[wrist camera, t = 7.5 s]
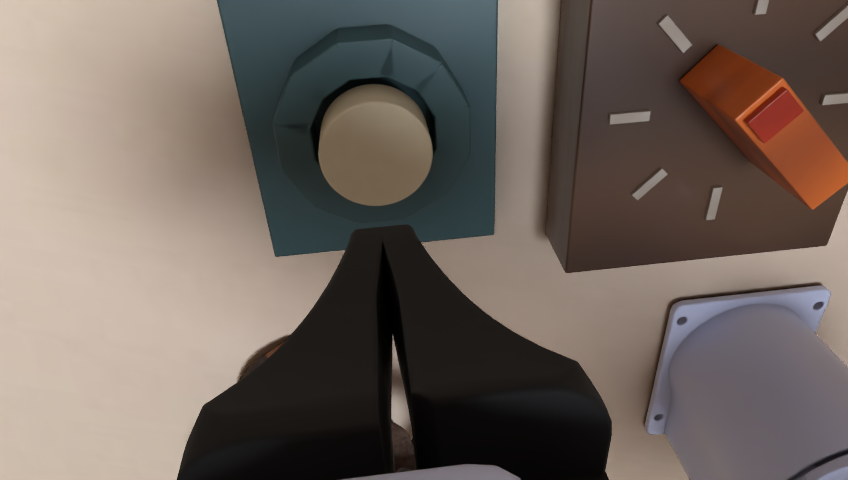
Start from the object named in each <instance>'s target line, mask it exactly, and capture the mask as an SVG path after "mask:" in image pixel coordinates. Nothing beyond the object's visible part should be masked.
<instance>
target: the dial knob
mask: <svg viewBox="0 0 848 480" xmlns="http://www.w3.org/2000/svg"><path fill="white" fill-rule="evenodd" d="M680 83H681V84H682V85H683V86H684V87H685V88H686V90H687V91H688V92H689V93H690V94H691V95H692V96H693V97H694V99H695V100H696V101H697V102H698V103H699V104H700V105H701V107H702V108H703V109H704V110H705V111H706V112H707V113H708V114H709V116H710V117H711V118H712V119H713V120H714V121H715V122H716V124H717V125H718V126H719V127H720V128H721V129H722V130H723V131H724V133H725V134H726V135H727V136H728V137H729V138H730V139H731V141H732V142H733V143H734V144H735V145H736V146H737V147H738V148H739V150H740V151H741V152H742V153H743V154H744V155H745V156H746V158H747V159H748V160H749V161H750V162H751V163H752V164H753V165H754V166H756V167H757V168H758V169H760V170H761V171H762V172H763V173H765V174H766V175H767V176H769V177H770V178H771V179H773V180H774V181H775V182H776V183H778V184H779V185H780V186H782V187H783V188H784V189H785V190H787V191H788V192H789V193H791V194H792V195H793V196H794V197H796V198H797V199H798V200H800V201H801V202H802V203H803V204H805V205H806V206H807V207H809V208H810V209H812V210H813V209H815V208H816V207H817V206H819V205H820V204H821V203H823V202H824V201H825V200H826V199H828V198H829V197H830V196H832V195H833V194H834V193H836V192H837V191H838V190H840V189H841V188H842V187H843V186H845V185H846V184H847V183H848V162H847V161H846V160H845V158H844V157H843V156H842V154H841V153H840V152H839V150H838V149H837V148H836V146H835V145H834V144H833V143H832V141H831V140H830V139H829V137H828V136H827V135H826V133H825V132H824V131H823V129H822V128H821V127H820V125H819V124H818V123H817V122H816V120H815V119H814V118H813V116H812V115H811V114H810V112H809V111H808V110H807V108H806V107H805V106H804V104H803V103H802V102H801V101H800V99H799V98H798V97H797V95H796V94H795V93H794V91H793V90H792V89H791V87H790V86H789V85H788V83H787V82H786V81H785V80H784V78H782V77H780V76H779V75H777V74H775V73H773V72H771V71H769V70H767V69H765V68H763V67H761V66H759V65H757V64H756V63H754V62H752V61H750V60H748V59H746V58H744V57H742V56H740V55H738V54H736V53H735V52H733V51H731V50H729V49H727V48H725V47H723V46H721V45H717V46H716V47H715V48H714V49H713V50H712V51H711V52H710V53H709V54H707V55H706V56H705V57H704V58H703V59H702V60H701V61H700V62H699V63H698V64H697V65H696V66H695V67H693V68H692V69H691V70H690V71H689V72H688V73H687V74H686V75H685V76H684V77H683V78H682V79H681V80H680Z"/></svg>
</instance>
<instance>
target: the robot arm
mask: <svg viewBox="0 0 848 480" xmlns="http://www.w3.org/2000/svg"><path fill="white" fill-rule="evenodd" d="M830 295H831V292H830V291H829V290H828V289H827V288H826V287H825V286H810V287H801V288H792V289H783V290H774V291H765V292H756V293H747V294H738V295H729V296H719V297H710V298H701V299H692V300H683V301H679V302H677V303H675V304H674V305H673V306H672V308H671V310H670V314H669V319H668V323H667V328H666V332H665V337H664V341H663V346H662V350H661V355H660V359H659V364H658V368H657V373H656V377H655V382H654V386H653V391H652V395H651V400H650V404H649V409H648V413H647V418H646V422H645V429H646V431H647V432H648V434H651V435H656V434H665V435H666V437H667V439H668V441H669V442H670V444H671V446H672V448H673V450H674V452H675V453H676V455H677V457H678V459H679V461H680V463H681V465H682V466H683V468H684V470H685V472H686V474H687V476H688V477H689V479H690V480H848V367H847V366H846V365H845V364H844V363H843V362H842V361H841V360H840V359H839V358H838V357H837V355H836V354H835V353H834V352H833V351H832V350H831V349H830V348H829V347H828V346H827V345H826V344H825V343H824V342H823V341H822V340H821V339H820V338H819V337H818V336H817V335H816V334H815V333H816V330H817V328H818V326H819V323H820V321H821V318H822V316H823V313H824V311H825V308H826V306H827V303H828V301H829V298H830ZM680 317H682V318H681V319H679V318H680ZM392 336H393V337H394V342H395V347H396V352H397V356H398V361H399V366H400V371H401V375H402V380H403V385H404V390H405V394H406V399H407V404H408V409H409V415H410V421H411V427H412V437H413V446H414V455H415V464H416V470H414V471H406V472H398V473H395V464H394V452H393V440H392V426H391V391H392ZM611 436H612V421H611V419H610V416H609V414H608V411H607V409H606V406H605V404H604V402H603V400H602V398H601V396H600V395H599V393H598V391H597V390H596V388H595V387H594V385H593V384H592V382H591V380H590V379H589V378H588V376H587V375H586V373H585V372H584V370H583V369H582V367H581V366H580V365H579V363H578V362H577V361H574V360H572V359H570V358H567V357H565V356H562V355H560V354H558V353H555V352H553V351H550V350H548V349H546V348H543V347H541V346H539V345H537V344H535V343H533V342H531V341H529V340H527V339H526V338H524V337H522V336H520V335H518V334H516V333H515V332H513V331H511V330H510V329H508V328H507V327H505V326H504V325H502V324H501V323H499V322H498V321H496V320H494V319H493V318H492V317H490V316H489V315H488V314H486V313H485V312H484V311H482V310H481V309H480V308H479V307H478V306H477V305H475V304H474V303H473V302H472V301H471V300H470V299H468V298H467V297H466V296H465V295H464V294H463V293H462V292H461V291H460V290H459V289H458V288H457V287H456V286H455V285H454V284H453V283H452V282H451V281H450V280H449V278H448V277H447V276H446V275H445V274H444V273H443V272H442V270H441V269H440V268H439V267H438V265H437V264H436V263H435V262H434V261H433V259H432V258H431V257H430V255H429V254H428V253H427V251H426V250H425V248H424V247H423V245H422V244H421V242H420V241H419V239H418V237H417V236H416V234H415V232H414V229H413V228H412V227H411V226H410V225H409V224H404V225H394V226H384V227H374V228H364V229H355V230H354V231H353V232H352V234H351V236H350V240H349V243H348V245H347V248H346V250H345V253H344V255H343V257H342V259H341V261H340V263H339V265H338V267H337V269H336V271H335V273H334V275H333V276H332V278H331V280H330V282H329V284H328V285H327V287H326V288H325V290H324V291H323V293H322V295H321V296H320V298H319V299H318V301H317V302H316V304H315V305H314V307H313V308H312V310H311V311H310V312H309V314H308V315H307V316H306V318H305V319H304V320H303V321H302V322H301V324H300V325H299V326H298V327H297V329H296V330H295V331H294V332H293V333H292V334H291V335H290V336H289V337H288V339H287V340H286V341H285V342H284V343H283V344H282V345H281V346H280V347H279V348H278V349H277V350H276V351H275V352H274V353H273V354H272V355H271V356H270V357H269V358H267V359H266V360H265V361H264V362H263V363H262V364H261V365H259V366H258V367H257V368H256V369H254V370H253V371H252V372H251V373H249V374H248V375H247V376H246V377H244V378H243V379H242V380H240V381H239V382H238V383H236V384H235V385H233V386H232V387H230V388H229V389H227V390H226V391H224V392H223V393H221V394H220V395H218V396H217V397H215V398H214V399H212V400H211V401H209V402H208V403H206V404H204V406H203V407H202V409H201V411H200V414H199V416H198V418H197V420H196V423H195V425H194V427H193V429H192V432H191V434H190V436H189V439H188V441H187V444H186V447H185V450H184V454H183V458H182V462H181V465H180V469H179V473H178V477H177V480H609V479H608V477H607V474H606V472H605V469H606V464H607V458H608V453H609V447H610V441H611Z"/></svg>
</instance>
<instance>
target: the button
mask: <svg viewBox="0 0 848 480" xmlns="http://www.w3.org/2000/svg"><path fill="white" fill-rule="evenodd" d="M318 156H319V163H320V168H321V170H322V173H323V175H324V177H325V179H326V180H327V182H328V183H329V184H330V186H331V187H332V188H333V189H334V190H335V191H336V192H338V193H339V194H340V195H341V196H343V197H345V198H346V199H348V200H350V201H353V202H355V203H359V204H362V205H368V206H383V205H389V204H392V203H396V202H398V201H401V200H403V199H405V198H406V197H408V196H409V195H411V194H412V193H414V192H415V191H416V190H417V189H418V188H419V187H420V185H421V184H422V183H423V182H424V180H425V179H426V177H427V175H428V173H429V171H430V168H431V164H432V159H433V148H432V142H431V138H430V135H429V131H428V128H427V124H426V121H425V118H424V115H423V113H422V111H421V109H420V108H419V106H418V105H417V104H416V103H415V101H414V100H413V99H412V98H411V97H409V96H408V95H407V94H405V93H404V92H402V91H400V90H398V89H396V88H393V87H391V86H387V85H381V84H367V85H361V86H357V87H354V88H352V89H350V90H347V91H346V92H344V93H342V94H341V95H340V96H339V97H337V98H336V99H335V100H334V101H333V102H332V103H331V105H330V106H329V108H328V109H327V111H326V113H325V115H324V117H323V120H322V124H321V130H320V140H319V152H318Z"/></svg>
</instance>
